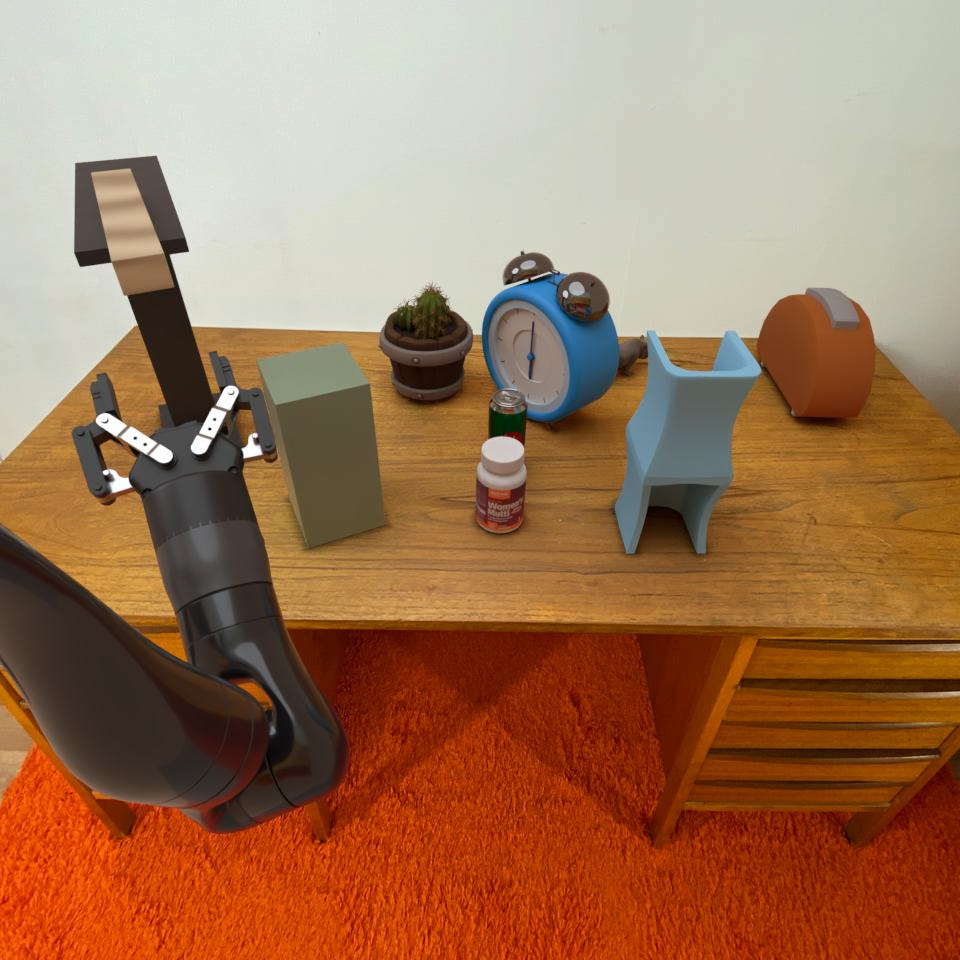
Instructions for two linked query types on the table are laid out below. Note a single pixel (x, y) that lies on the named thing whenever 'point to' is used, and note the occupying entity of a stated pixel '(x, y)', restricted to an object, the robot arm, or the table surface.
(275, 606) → the robot arm
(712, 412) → the blue doll chair
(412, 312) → the flowerpot
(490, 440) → the pill bottle
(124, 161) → the stand
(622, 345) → the rhino figurine
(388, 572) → the table surface
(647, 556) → the table surface
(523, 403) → the soda can
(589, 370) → the alarm clock
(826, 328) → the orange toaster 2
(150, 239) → the ash stick
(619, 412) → the table surface
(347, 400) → the green block
